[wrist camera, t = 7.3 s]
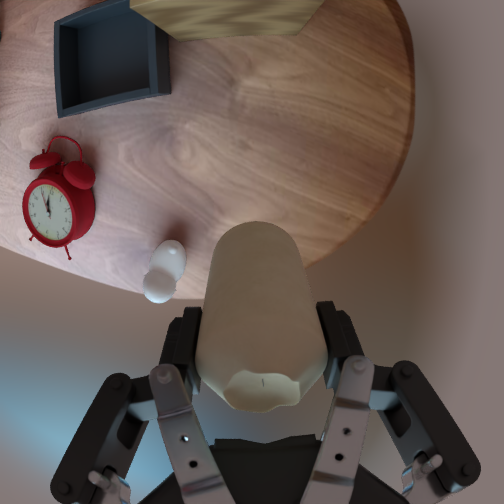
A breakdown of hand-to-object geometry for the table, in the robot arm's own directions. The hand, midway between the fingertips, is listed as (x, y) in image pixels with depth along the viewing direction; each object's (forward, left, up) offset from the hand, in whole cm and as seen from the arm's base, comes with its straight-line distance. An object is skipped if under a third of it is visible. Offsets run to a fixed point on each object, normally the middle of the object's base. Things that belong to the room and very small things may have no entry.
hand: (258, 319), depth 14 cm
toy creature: (-11, -9, -21) cm, 25 cm away
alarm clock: (-24, +2, -21) cm, 32 cm away
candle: (0, 0, -6) cm, 6 cm away
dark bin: (-14, +17, -21) cm, 30 cm away
